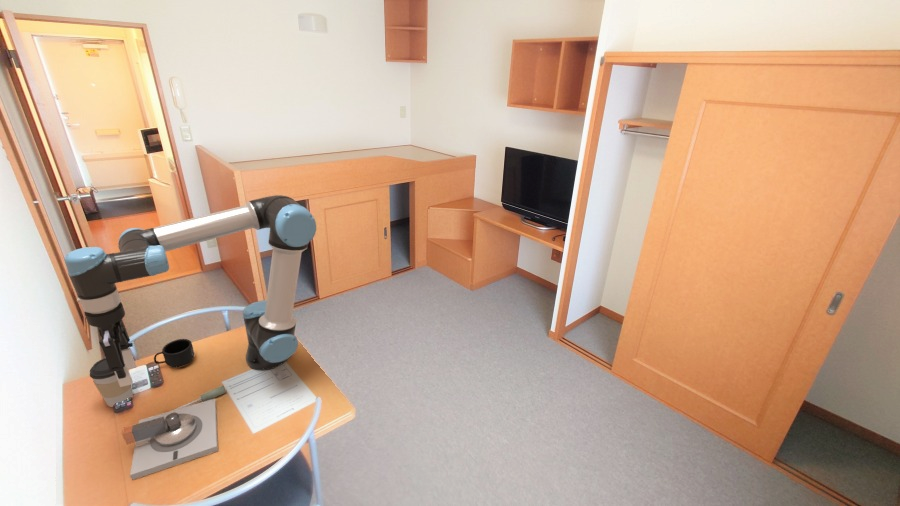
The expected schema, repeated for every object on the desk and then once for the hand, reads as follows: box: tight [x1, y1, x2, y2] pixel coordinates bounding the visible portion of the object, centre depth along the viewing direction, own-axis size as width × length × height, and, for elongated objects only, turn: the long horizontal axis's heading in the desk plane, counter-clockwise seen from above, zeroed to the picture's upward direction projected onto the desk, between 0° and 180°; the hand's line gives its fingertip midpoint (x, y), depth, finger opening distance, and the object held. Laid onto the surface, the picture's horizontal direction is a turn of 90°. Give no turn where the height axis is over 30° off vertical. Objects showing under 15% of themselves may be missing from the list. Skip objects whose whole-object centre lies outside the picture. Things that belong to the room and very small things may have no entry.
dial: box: [122, 413, 196, 446], centre depth 115 cm, size 16×10×6 cm, turn 119°
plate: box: [129, 398, 219, 481], centre depth 118 cm, size 20×20×2 cm
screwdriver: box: [173, 384, 227, 410], centre depth 131 cm, size 15×3×3 cm
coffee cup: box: [89, 358, 134, 408], centre depth 127 cm, size 9×9×15 cm
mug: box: [153, 338, 195, 369], centre depth 145 cm, size 12×9×7 cm
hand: (128, 376), depth 112 cm, fingers open, 6 cm apart
